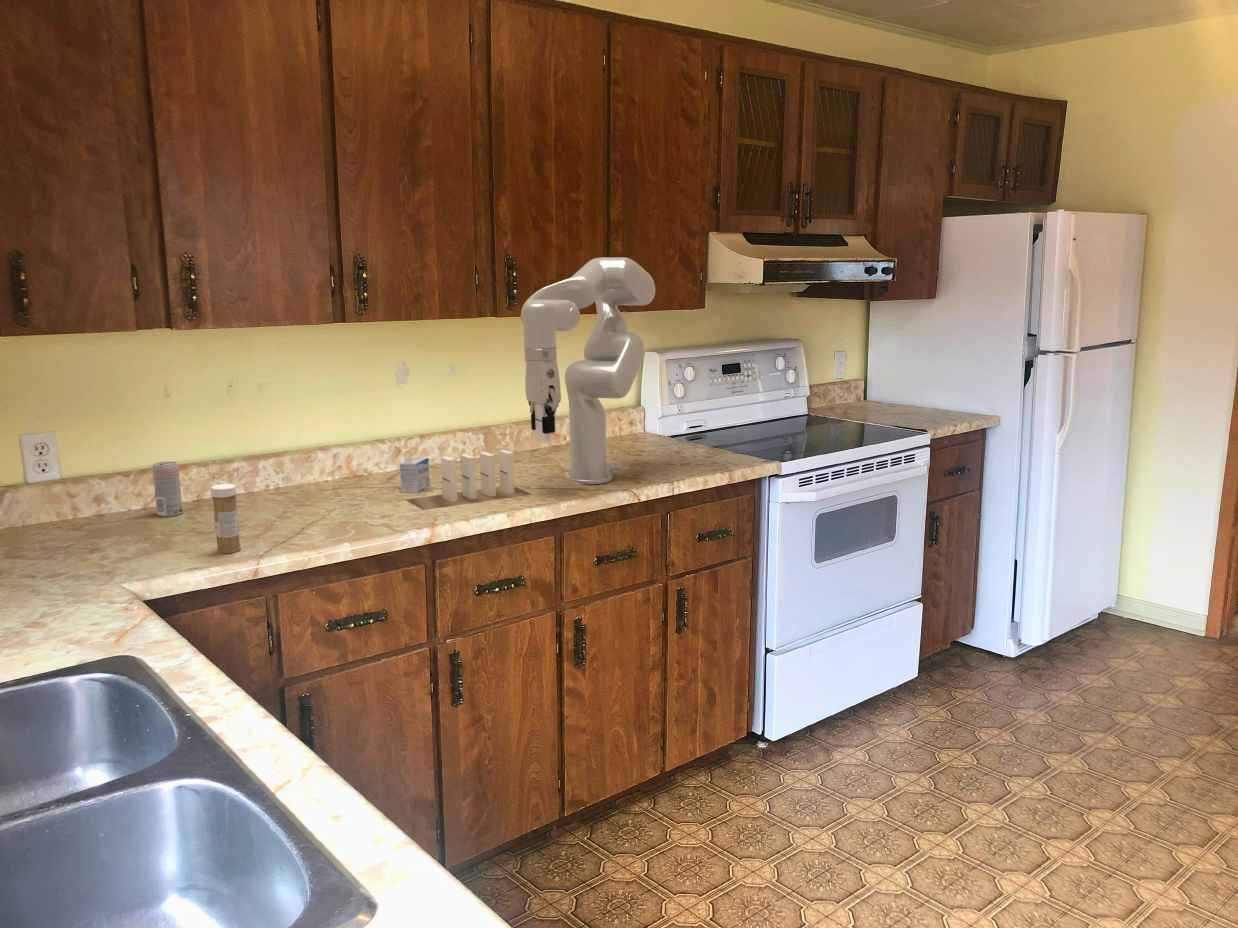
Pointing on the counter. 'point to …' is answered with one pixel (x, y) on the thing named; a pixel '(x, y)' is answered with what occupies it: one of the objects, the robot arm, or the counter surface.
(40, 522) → the counter surface
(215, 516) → the sprinkles bottle
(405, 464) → the medicine box
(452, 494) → the domino
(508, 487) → the domino
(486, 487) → the domino
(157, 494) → the energy drink
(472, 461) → the domino
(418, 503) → the walnut board
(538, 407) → the domino
